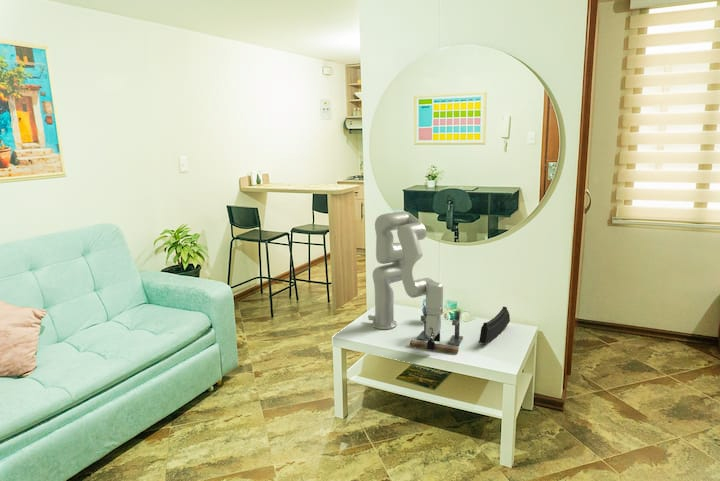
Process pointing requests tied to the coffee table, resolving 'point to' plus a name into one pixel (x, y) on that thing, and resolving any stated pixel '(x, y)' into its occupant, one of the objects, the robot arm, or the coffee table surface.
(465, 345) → the coffee table surface
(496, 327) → the magazine
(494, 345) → the coffee table surface
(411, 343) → the rail
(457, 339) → the hook stand
